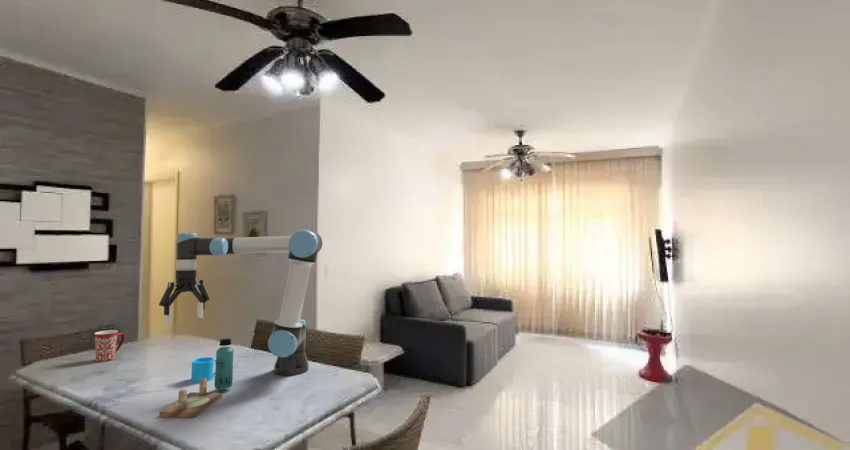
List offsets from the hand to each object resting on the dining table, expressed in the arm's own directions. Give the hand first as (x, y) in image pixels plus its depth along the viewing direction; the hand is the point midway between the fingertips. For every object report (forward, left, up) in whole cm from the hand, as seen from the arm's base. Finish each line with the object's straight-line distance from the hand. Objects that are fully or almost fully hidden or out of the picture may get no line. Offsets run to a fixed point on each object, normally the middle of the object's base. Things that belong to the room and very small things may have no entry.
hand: (184, 320), depth 172 cm
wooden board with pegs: (-19, +26, -25) cm, 41 cm away
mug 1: (+53, -29, -25) cm, 65 cm away
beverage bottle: (-22, +10, -25) cm, 35 cm away
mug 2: (-8, -4, -25) cm, 27 cm away
